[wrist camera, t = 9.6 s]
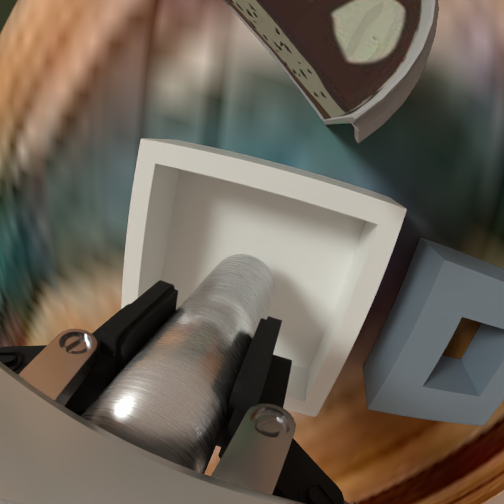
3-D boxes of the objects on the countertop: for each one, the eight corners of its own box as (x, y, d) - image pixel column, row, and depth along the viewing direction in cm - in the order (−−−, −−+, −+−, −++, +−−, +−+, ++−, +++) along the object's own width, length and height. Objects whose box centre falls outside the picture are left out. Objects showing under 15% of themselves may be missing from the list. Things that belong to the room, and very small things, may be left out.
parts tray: (388, 196, 16) (406, 209, 12) (319, 375, 20) (315, 417, 16) (177, 139, 17) (141, 138, 14) (150, 318, 21) (120, 348, 18)
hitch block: (527, 279, 15) (559, 304, 11) (467, 389, 18) (483, 425, 14) (420, 236, 16) (444, 259, 12) (362, 367, 19) (367, 409, 15)
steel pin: (282, 265, 16) (191, 492, 4) (265, 320, 17) (179, 537, 5) (219, 246, 16) (43, 415, 5) (207, 301, 17) (69, 483, 6)
